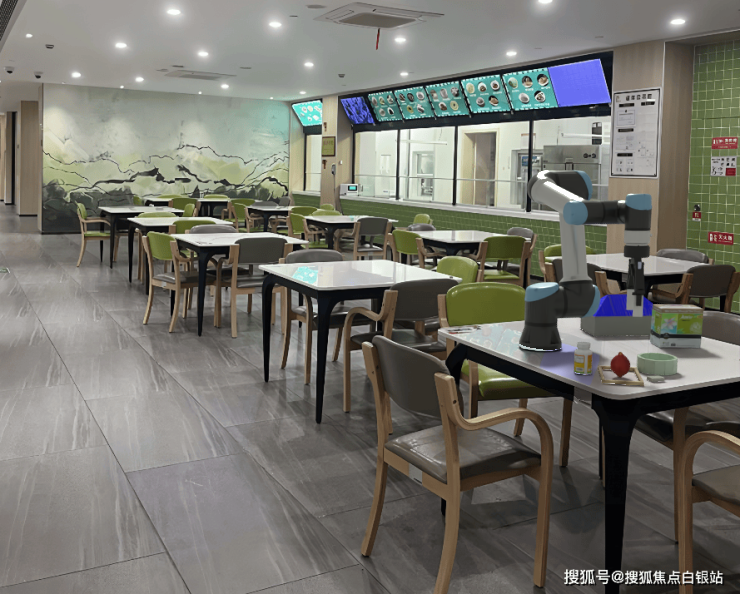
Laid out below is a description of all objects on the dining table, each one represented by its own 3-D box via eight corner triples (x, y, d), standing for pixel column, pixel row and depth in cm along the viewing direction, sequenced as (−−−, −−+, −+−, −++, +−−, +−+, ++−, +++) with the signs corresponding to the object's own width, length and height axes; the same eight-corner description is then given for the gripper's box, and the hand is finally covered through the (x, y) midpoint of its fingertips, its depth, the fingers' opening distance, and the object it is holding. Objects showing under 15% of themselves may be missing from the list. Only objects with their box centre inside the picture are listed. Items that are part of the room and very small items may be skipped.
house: (638, 328, 300) (640, 290, 297) (656, 336, 284) (658, 296, 281) (579, 329, 298) (580, 291, 296) (593, 337, 282) (595, 297, 280)
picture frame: (602, 384, 213) (602, 380, 213) (597, 369, 231) (597, 365, 231) (643, 386, 211) (643, 382, 210) (636, 370, 228) (636, 367, 228)
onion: (614, 373, 225) (615, 348, 224) (632, 376, 221) (633, 351, 220) (606, 377, 221) (607, 351, 219) (625, 380, 217) (626, 354, 216)
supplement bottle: (588, 371, 229) (589, 341, 227) (594, 375, 223) (595, 344, 222) (571, 371, 228) (572, 341, 227) (576, 375, 223) (577, 344, 222)
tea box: (659, 348, 261) (661, 308, 258) (649, 342, 270) (651, 303, 268) (701, 348, 260) (704, 307, 258) (690, 342, 270) (692, 303, 268)
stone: (652, 383, 215) (652, 378, 215) (646, 381, 218) (646, 376, 218) (664, 382, 216) (664, 378, 215) (658, 380, 218) (659, 375, 218)
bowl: (639, 374, 224) (639, 359, 224) (634, 365, 236) (635, 351, 235) (679, 376, 222) (680, 361, 221) (673, 367, 233) (673, 353, 232)
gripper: (657, 247, 209) (654, 319, 212) (643, 242, 233) (640, 307, 236) (629, 247, 210) (627, 319, 213) (618, 242, 235) (616, 307, 237)
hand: (634, 313), depth 225 cm, fingers open, 13 cm apart
